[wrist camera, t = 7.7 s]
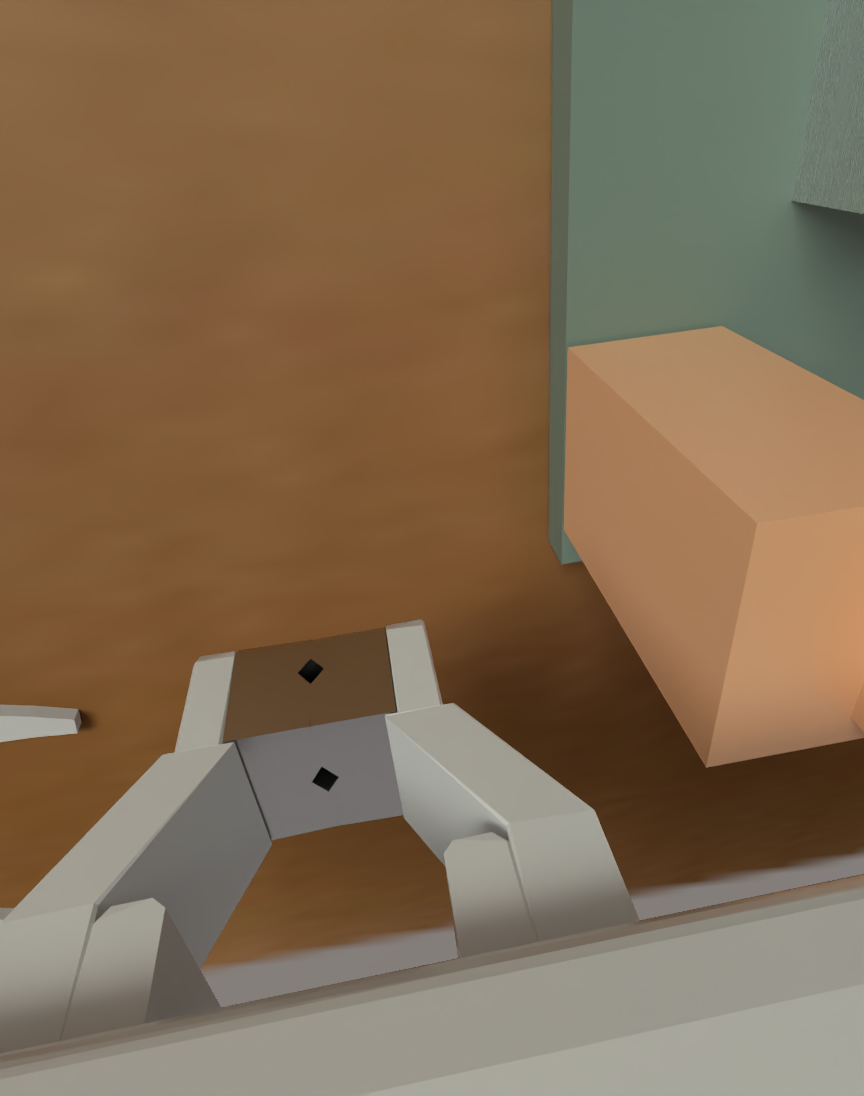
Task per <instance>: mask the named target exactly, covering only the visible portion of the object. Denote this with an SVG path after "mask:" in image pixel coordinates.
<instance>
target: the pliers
mask: <svg viewBox="0 0 864 1096" xmlns="http://www.w3.org/2000/svg"><path fill="white" fill-rule="evenodd" d="M81 723H82V722H81V718H80V714H79V710H78V709H71V708H58V707H44V706H25V705H0V742H4V741H11V740H19V739H26V738H34V737H43V736H54V735H64V734H74V733H78V731H79V728H80V725H81ZM13 909H14V908H0V923H1V922H2V921H3V920H4V919H5V918H6V917H7V916H8V915H9V914H10V913H11V912H12V910H13Z"/></svg>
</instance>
